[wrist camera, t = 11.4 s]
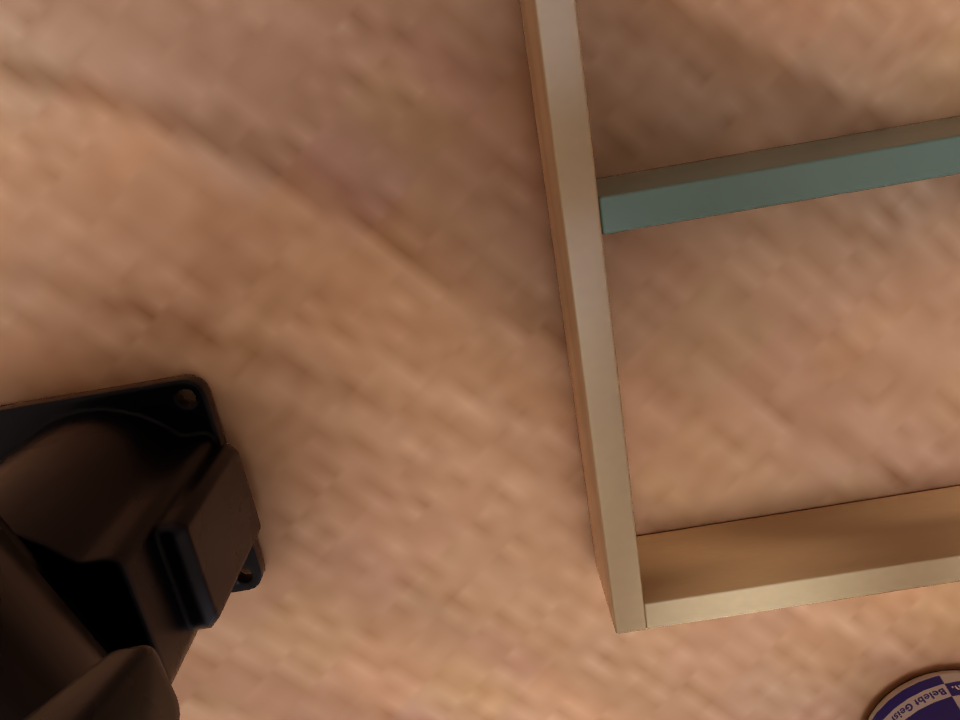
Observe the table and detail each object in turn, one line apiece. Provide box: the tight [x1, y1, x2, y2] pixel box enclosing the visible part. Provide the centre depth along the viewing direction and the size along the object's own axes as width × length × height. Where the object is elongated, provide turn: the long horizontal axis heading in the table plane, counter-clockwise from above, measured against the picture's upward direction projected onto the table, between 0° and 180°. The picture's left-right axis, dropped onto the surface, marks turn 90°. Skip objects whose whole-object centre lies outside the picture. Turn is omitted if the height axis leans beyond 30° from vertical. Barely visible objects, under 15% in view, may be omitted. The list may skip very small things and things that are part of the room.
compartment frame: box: [520, 0, 960, 634], centre depth 17 cm, size 15×21×3 cm
